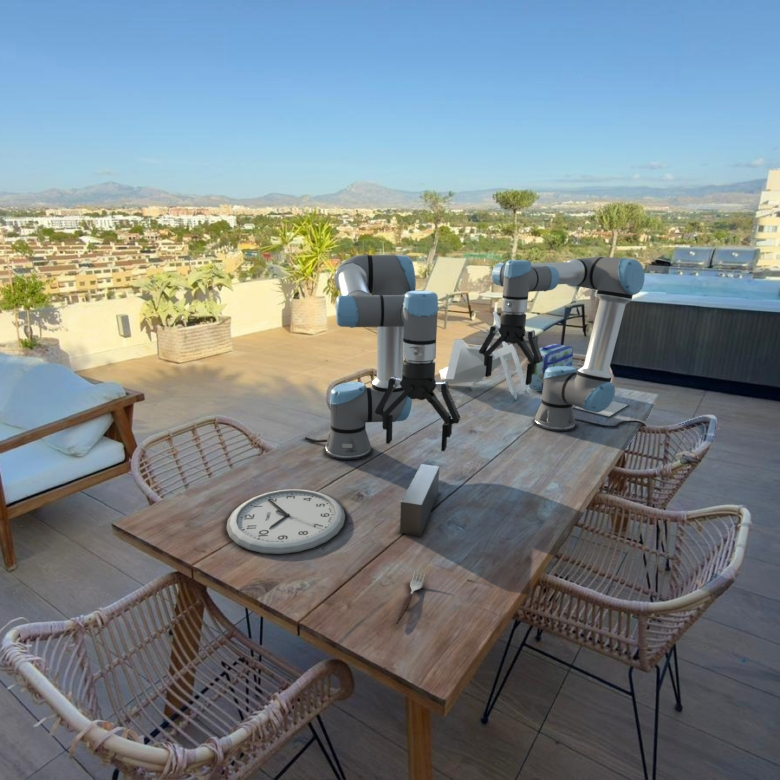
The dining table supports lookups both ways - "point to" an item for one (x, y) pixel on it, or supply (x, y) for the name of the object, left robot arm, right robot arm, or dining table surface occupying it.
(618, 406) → the invitation card
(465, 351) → the white plastic object
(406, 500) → the bar
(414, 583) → the fork
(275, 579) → the dining table surface
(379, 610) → the dining table surface
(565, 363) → the lunch box
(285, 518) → the wall clock
